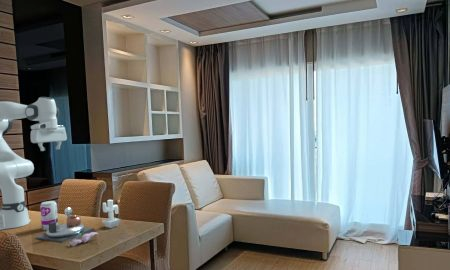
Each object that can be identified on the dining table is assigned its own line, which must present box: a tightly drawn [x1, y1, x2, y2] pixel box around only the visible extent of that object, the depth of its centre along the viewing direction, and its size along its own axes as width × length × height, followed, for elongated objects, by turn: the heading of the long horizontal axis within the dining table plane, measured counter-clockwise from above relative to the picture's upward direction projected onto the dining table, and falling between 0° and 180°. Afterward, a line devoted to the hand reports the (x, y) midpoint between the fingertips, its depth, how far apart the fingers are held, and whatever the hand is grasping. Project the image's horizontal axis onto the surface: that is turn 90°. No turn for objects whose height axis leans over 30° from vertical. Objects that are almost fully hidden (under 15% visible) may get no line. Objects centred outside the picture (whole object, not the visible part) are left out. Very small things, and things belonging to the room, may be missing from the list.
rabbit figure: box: [65, 231, 99, 248], centre depth 161 cm, size 6×6×15 cm
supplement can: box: [39, 200, 59, 231], centre depth 189 cm, size 8×8×15 cm
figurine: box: [101, 199, 121, 229], centre depth 186 cm, size 7×9×15 cm
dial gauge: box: [63, 207, 73, 219], centre depth 187 cm, size 5×6×11 cm
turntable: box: [45, 222, 85, 237], centre depth 176 cm, size 18×18×7 cm
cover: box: [66, 214, 82, 227], centre depth 181 cm, size 7×7×5 cm
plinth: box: [35, 226, 95, 243], centre depth 177 cm, size 20×20×1 cm
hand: (50, 150), depth 185 cm, fingers open, 8 cm apart
